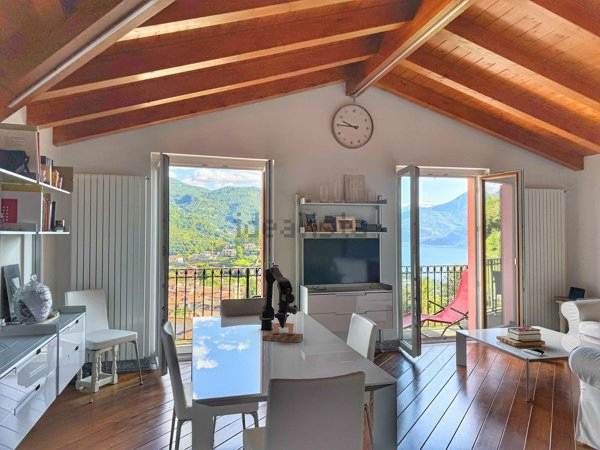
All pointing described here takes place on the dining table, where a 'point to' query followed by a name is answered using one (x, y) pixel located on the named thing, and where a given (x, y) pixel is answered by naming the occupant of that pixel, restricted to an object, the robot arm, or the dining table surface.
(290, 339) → the brown slotted board
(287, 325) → the tall terracotta pillar
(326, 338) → the dining table surface
